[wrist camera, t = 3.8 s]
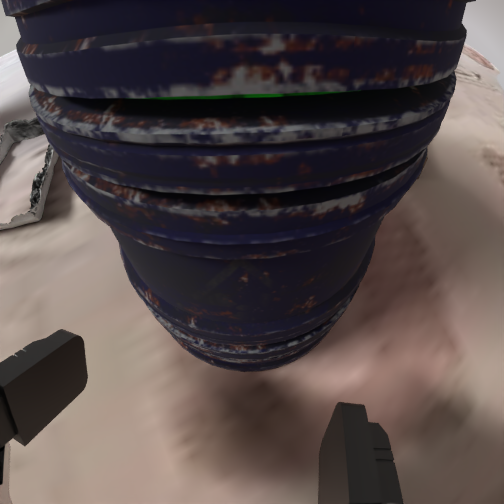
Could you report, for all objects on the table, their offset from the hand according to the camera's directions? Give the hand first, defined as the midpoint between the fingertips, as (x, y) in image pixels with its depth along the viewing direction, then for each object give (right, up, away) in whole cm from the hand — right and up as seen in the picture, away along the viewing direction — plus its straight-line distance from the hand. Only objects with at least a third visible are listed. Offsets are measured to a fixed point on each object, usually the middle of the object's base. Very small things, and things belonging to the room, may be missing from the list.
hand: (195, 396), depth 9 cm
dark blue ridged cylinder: (+1, +3, +8) cm, 8 cm away
